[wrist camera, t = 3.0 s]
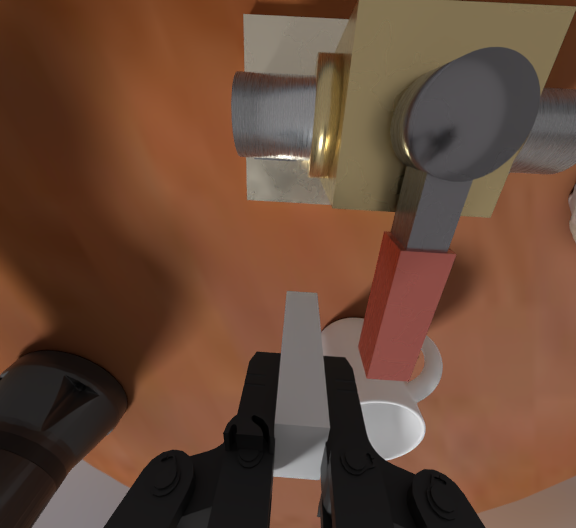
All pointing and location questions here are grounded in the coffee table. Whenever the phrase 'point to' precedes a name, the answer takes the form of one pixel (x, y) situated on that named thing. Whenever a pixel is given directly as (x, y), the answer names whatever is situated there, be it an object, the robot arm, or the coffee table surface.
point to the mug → (386, 391)
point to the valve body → (380, 97)
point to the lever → (440, 190)
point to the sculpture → (573, 213)
